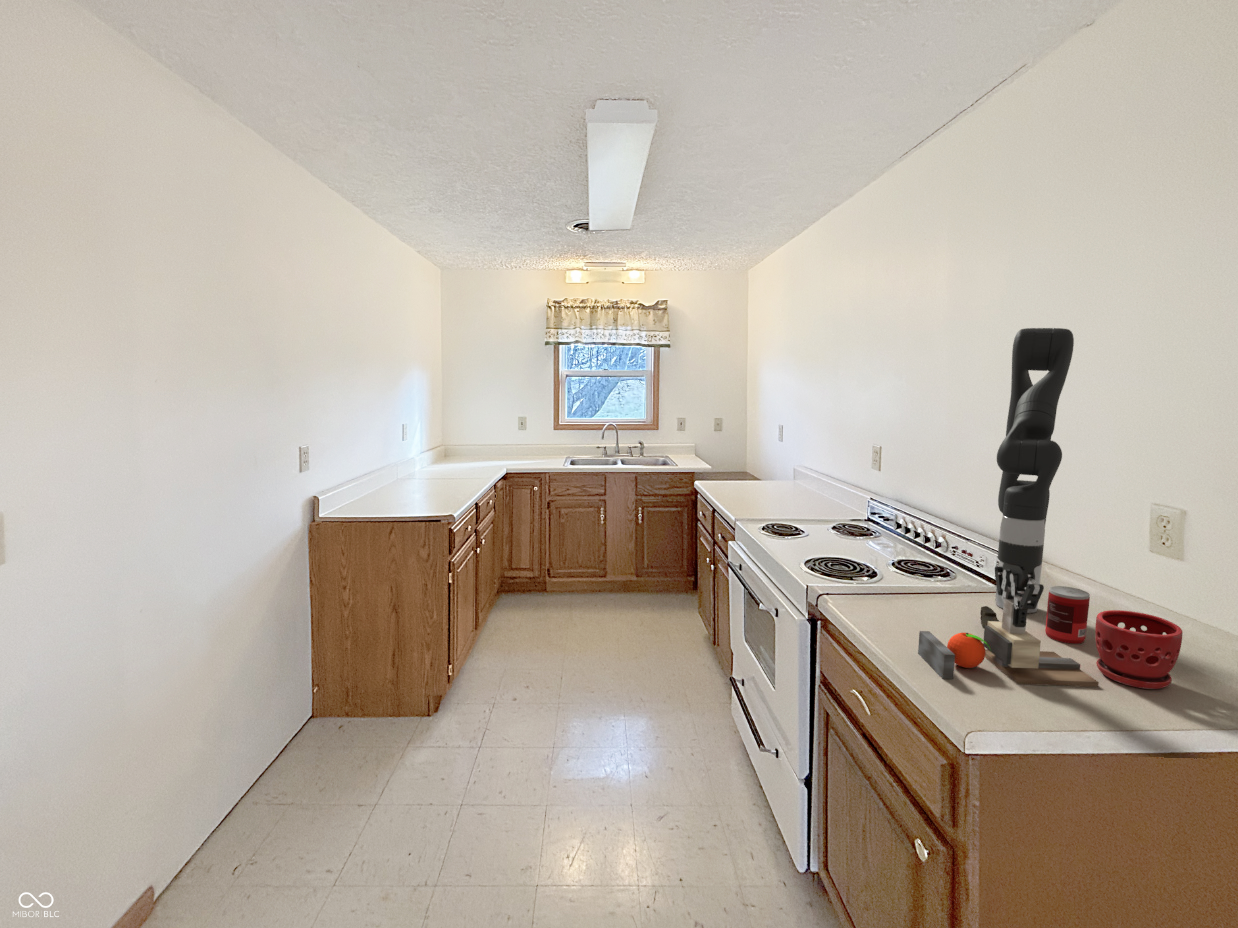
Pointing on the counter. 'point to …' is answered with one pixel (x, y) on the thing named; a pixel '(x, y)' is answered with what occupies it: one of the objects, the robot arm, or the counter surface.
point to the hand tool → (987, 616)
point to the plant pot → (1137, 648)
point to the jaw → (1012, 641)
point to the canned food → (1067, 614)
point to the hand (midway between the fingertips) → (1013, 622)
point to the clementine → (967, 649)
